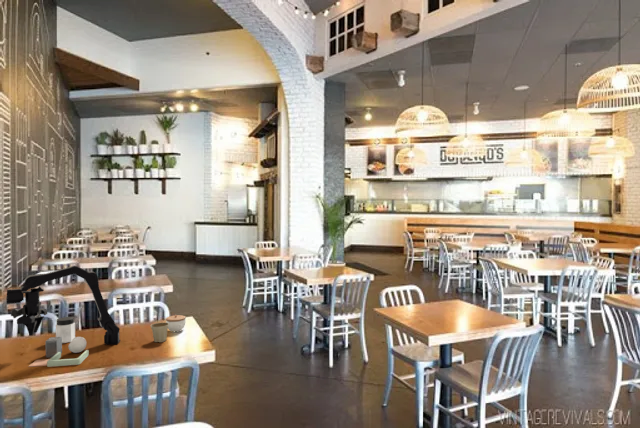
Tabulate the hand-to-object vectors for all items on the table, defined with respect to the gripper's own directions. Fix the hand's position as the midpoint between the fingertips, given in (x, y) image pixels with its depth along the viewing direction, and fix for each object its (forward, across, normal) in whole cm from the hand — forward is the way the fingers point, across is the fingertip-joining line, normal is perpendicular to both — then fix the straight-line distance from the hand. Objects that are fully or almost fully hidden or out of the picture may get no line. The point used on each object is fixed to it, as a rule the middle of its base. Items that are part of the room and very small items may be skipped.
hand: (33, 333), depth 213 cm
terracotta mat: (+11, +11, +8) cm, 17 cm away
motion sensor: (+11, -2, +19) cm, 22 cm away
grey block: (+11, 0, +9) cm, 14 cm away
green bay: (+11, +10, +19) cm, 24 cm away
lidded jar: (+11, -31, +62) cm, 70 cm away
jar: (+11, -24, +6) cm, 27 cm away
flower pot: (+11, -13, +56) cm, 59 cm away
